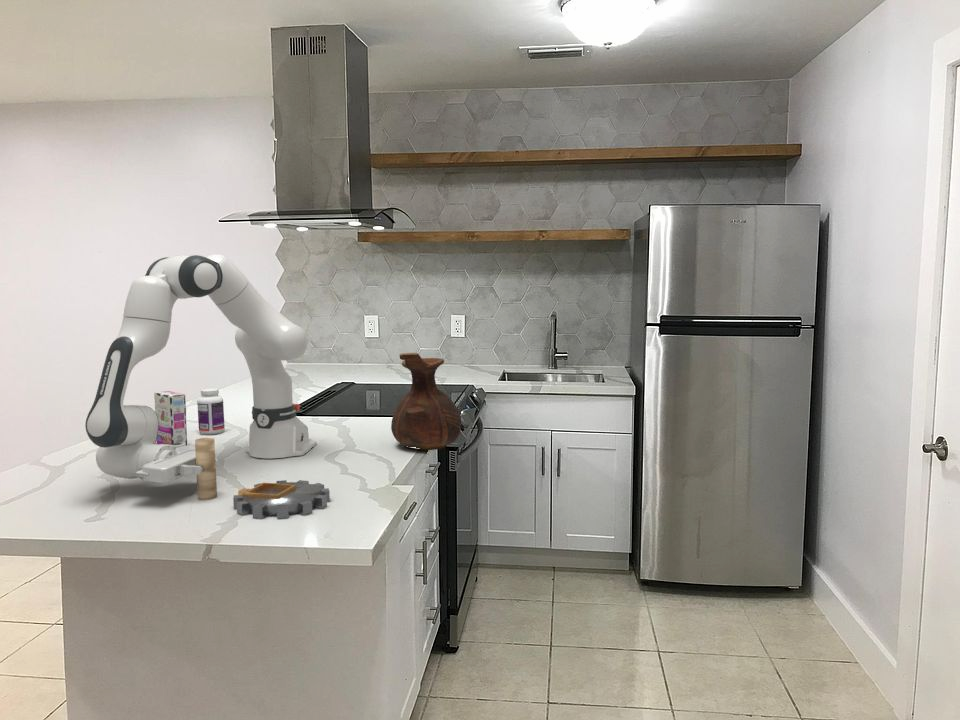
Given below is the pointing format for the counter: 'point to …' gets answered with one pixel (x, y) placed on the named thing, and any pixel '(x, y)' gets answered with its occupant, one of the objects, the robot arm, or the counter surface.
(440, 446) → the jug
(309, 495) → the sprocket
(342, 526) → the counter surface
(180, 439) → the candy bar box
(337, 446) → the counter surface
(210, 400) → the pill bottle
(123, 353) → the robot arm
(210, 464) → the drive pin
